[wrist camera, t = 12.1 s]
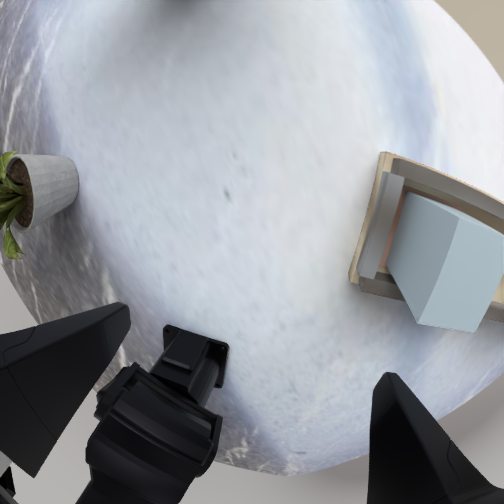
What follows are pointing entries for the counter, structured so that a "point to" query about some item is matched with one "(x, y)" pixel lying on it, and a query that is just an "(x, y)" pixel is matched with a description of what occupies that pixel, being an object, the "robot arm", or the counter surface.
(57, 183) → the house plant
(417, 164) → the rail plate
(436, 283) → the block
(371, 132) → the counter surface
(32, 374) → the robot arm
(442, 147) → the counter surface
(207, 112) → the counter surface
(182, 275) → the counter surface
